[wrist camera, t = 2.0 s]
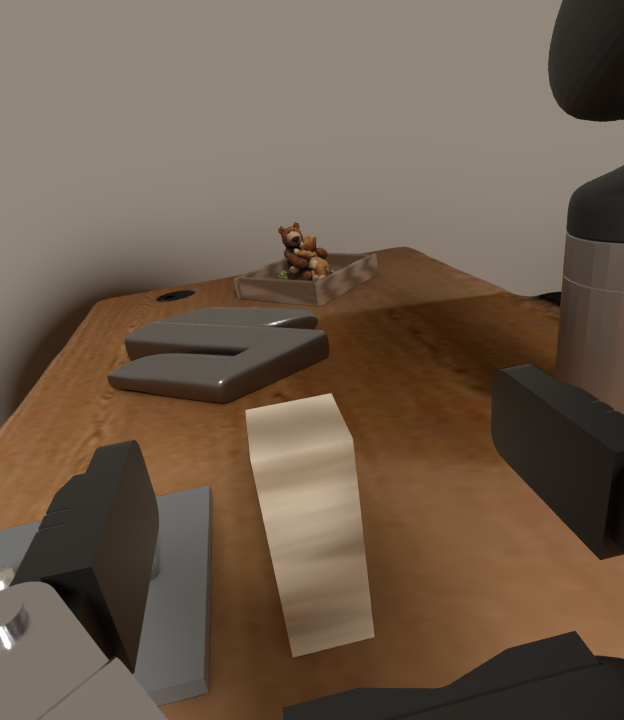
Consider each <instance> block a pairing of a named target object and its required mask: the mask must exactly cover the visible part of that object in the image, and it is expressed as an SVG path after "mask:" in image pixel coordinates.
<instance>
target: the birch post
mask: <svg viewBox="0 0 624 720" xmlns="http://www.w3.org/2000/svg"><path fill="white" fill-rule="evenodd" d="M245 411H246V421H247V430H248V440H249V450H250V460H251V465H252V469H253V474H254V479H255V483H256V488H257V493H258V497H259V502H260V507H261V511H262V516H263V521H264V525H265V530H266V535H267V539H268V544H269V549H270V553H271V558H272V563H273V567H274V572H275V577H276V581H277V586H278V591H279V595H280V600H281V605H282V609H283V614H284V619H285V623H286V628H287V633H288V637H289V642H290V647H291V651H292V656H293V658H294V657H298V656H302V655H306V654H310V653H314V652H318V651H322V650H326V649H330V648H334V647H337V646H341V645H345V644H349V643H353V642H357V641H361V640H365V639H369V638H373V637H375V636H374V627H373V618H372V609H371V600H370V591H369V582H368V573H367V564H366V555H365V546H364V536H363V527H362V518H361V509H360V500H359V491H358V482H357V473H356V464H355V455H354V445H353V438H352V436H351V434H350V432H349V430H348V428H347V426H346V423H345V421H344V419H343V417H342V415H341V413H340V411H339V409H338V407H337V404H336V402H335V400H334V398H333V396H332V394H325V395H320V396H315V397H310V398H305V399H300V400H295V401H290V402H285V403H280V404H275V405H269V406H264V407H259V408H254V409H249V410H245Z"/></svg>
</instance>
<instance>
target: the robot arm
mask: <svg viewBox="0 0 624 720" xmlns="http://www.w3.org/2000/svg"><path fill="white" fill-rule="evenodd" d="M548 72H549V81H550V86H551V89H552V93H553V96H554V98H555V100H556V101H557V103H558V105H559V106H560V107H561V108H562V109H563V110H564V111H565V112H566V113H567V114H569V115H571V116H573V117H575V118H577V119H582V120H590V121H599V122H603V121H604V122H605V121H606V122H607V121H616V120H624V0H563V1H562V3H561V7H560V10H559V13H558V16H557V19H556V22H555V26H554V30H553V35H552V39H551V44H550V50H549V61H548ZM491 433H492V439H493V442H494V445H495V448H496V450H497V452H498V453H499V455H500V456H501V457H502V458H503V459H504V460H505V461H506V462H507V463H508V464H509V466H510V467H511V468H512V469H513V470H514V471H515V472H516V473H517V474H518V475H519V476H520V477H521V478H522V479H523V480H524V481H525V482H526V483H527V484H528V485H529V486H530V487H531V488H532V490H533V491H534V492H535V493H536V494H537V495H538V496H539V497H540V498H541V499H542V500H543V501H544V502H545V503H546V504H547V505H548V506H549V507H550V508H551V509H552V510H553V511H554V512H555V514H556V515H557V516H558V517H559V518H560V519H561V520H562V521H563V522H564V523H565V524H566V525H567V526H568V527H569V528H570V529H571V530H572V531H573V532H574V533H575V534H576V535H577V536H578V538H579V539H580V540H581V541H582V542H583V543H584V544H585V545H586V546H587V547H588V548H589V549H590V550H591V551H592V552H593V553H594V554H595V555H596V556H597V557H598V558H599V559H600V560H603V559H607V558H611V557H615V556H619V555H623V554H624V165H623V166H621V167H619V168H618V169H616V170H614V171H612V172H609V173H607V174H605V175H603V176H600V177H598V178H596V179H594V180H592V181H589V182H587V183H586V184H584V185H582V186H580V187H579V188H578V189H577V190H576V191H575V192H574V193H573V195H572V196H571V199H570V202H569V207H568V216H567V232H566V242H565V255H564V267H563V282H562V294H561V306H560V318H559V330H558V343H557V355H556V367H555V379H554V378H552V377H551V376H549V375H548V374H546V373H544V372H543V371H541V370H540V369H538V368H537V367H535V366H533V365H531V364H526V365H521V366H516V367H511V368H506V369H501V370H497V371H496V372H495V373H494V375H493V380H492V415H491ZM46 514H47V515H46V516H44V518H43V520H42V522H41V524H40V526H39V528H38V529H39V532H36V534H35V536H34V538H33V540H32V542H31V544H30V546H29V548H28V550H27V552H26V554H25V556H24V558H23V560H22V562H21V564H20V566H19V568H18V570H17V572H16V574H15V576H14V578H13V580H12V582H11V584H10V586H9V587H8V588H6V589H3V590H1V591H0V720H168V719H167V718H166V717H165V715H164V714H163V713H162V712H161V710H160V709H159V708H158V706H157V705H156V704H155V703H154V701H153V700H152V699H151V698H150V696H149V695H148V694H147V693H146V691H145V690H144V689H143V688H142V686H141V685H140V684H139V683H138V681H137V680H136V679H135V678H134V676H133V675H132V674H133V673H135V667H136V661H137V655H138V649H139V643H140V637H141V631H142V626H143V620H144V614H145V608H146V602H147V596H148V590H149V584H150V578H151V572H152V566H153V561H154V555H155V549H156V543H157V537H158V531H159V512H158V505H157V501H156V497H155V494H154V490H153V487H152V484H151V481H150V478H149V474H148V471H147V468H146V465H145V461H144V458H143V455H142V452H141V449H140V446H139V444H138V443H137V441H135V440H132V441H127V442H121V443H116V444H111V445H106V446H101V447H98V448H97V449H96V451H95V453H94V455H93V458H92V460H91V462H90V464H89V467H88V469H87V471H86V474H81V475H76V476H73V477H72V478H71V479H70V480H69V481H68V482H67V483H66V484H65V485H64V486H63V487H62V488H61V489H60V490H59V491H58V492H57V493H56V494H55V496H54V498H53V500H52V502H51V504H50V506H49V508H48V510H47V512H46ZM283 714H284V720H624V659H622V658H615V657H607V656H594V655H593V654H592V652H591V651H590V650H589V648H588V647H587V646H586V644H585V643H584V642H583V640H582V639H581V638H580V636H579V635H578V634H577V632H576V631H573V632H569V633H565V634H561V635H558V636H554V637H550V638H546V639H542V640H539V641H535V642H531V643H527V644H523V645H520V646H516V647H512V648H508V649H506V650H504V651H503V652H501V653H500V654H498V655H496V656H495V657H493V658H492V659H490V660H488V661H487V662H485V663H483V664H482V665H480V666H479V667H477V668H475V669H474V670H472V671H471V672H469V673H467V674H466V675H464V676H462V677H461V678H459V679H458V680H456V681H454V682H453V683H451V684H449V685H447V686H445V687H442V688H435V689H425V688H356V689H353V690H349V691H345V692H341V693H337V694H334V695H330V696H326V697H322V698H318V699H315V700H311V701H307V702H303V703H299V704H296V705H292V706H288V707H284V708H283Z"/></svg>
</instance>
